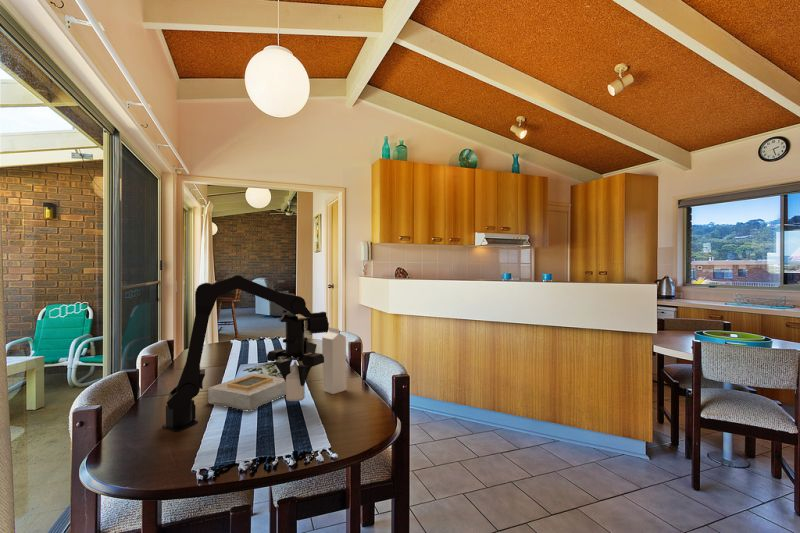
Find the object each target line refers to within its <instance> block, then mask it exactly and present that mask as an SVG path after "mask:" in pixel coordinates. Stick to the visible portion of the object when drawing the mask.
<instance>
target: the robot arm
mask: <svg viewBox="0 0 800 533" xmlns="http://www.w3.org/2000/svg"><path fill="white" fill-rule="evenodd" d="M235 290H240V291H243V292H246V293H248V294H251V295H252V296H255V297H258V298H261V299H264V300H266V301H269V302H271V303H274V304H275V305H277V306H278V307H280V308H282V309H283V310H284V311H286V312H288V313H290V314H292V315H287V314H286V313H283V314H282V316H281V317H280V318H278V321H279V322H281V323H285V338H283V339H282V343H285V349H284V348H283V349H282V348H277V349H273V350H269V351H268V353H267V354H266V361H267V362H273V365H275V366H276V368H277V370H278V371H279V373H280V374H281V376H282V377H283V378H284V380H285V382H286V376H287V375H288V374H290V373H291V366H292V365H291V364H292V362H293V361H296V362H297V361H298V362H301V364H299V366H298V372H299V378H300V383H301V386H304V385H305V386H306V381H307V378H308V376H309V373H310V372H311V369H312V367H315V366H318V365H321V364H322V363H324V356H323V354H322V353H317V344H316V343H314V342H309V341H308V337H307V336H305V331H306V332H307V333H308V334H310V335H311V334H323V333H325V334H327V333H328V332H329V327H330V322H329V319H328V317H327V312H326V311H319V312H311V311H310V310H309V309H308V307H307V305H306V301H305V299H304V298H303V297H302V296H300V295H299V296H298V295H296V294H291V293H287V292H286V293H285V292H281V291H277V290H274V289H272V288H270V287H267V286H265V285H262V284H260V283H257V282H255V281H252V280H250V279H248V278H245V277H243V276H242V275H238V274H233V275H231V277H228V278H225V279H222V280H219V281H216V282H214V283H211V282H204V283H200V284H199V285H198V286H197V287H196V289H195V293H194V313H195V314H194V319H193V320H194V321H193V325H192V330H191V335H190V340H189V344H188V345H189V346H188V351H187V356H186V359H185V360H186V361H185V363H184V365H183V367H182V370H181V373H180V375H179V377H178V381H177V384H176V386H175V387H174V388H173V389H172V390H171V391H170V392H169V393H168V397H167V400H166V405H165V424H162V425H161V428H162V429H166V430H170V431H174V432H179V431H182V430H184V429H186V428H189V427H191V426H195V425H196V424H198V423H199V420H196V419H197V416H196V414H197V413H196V412H197V410H196V404H195V400H194V398H195V397H197V396H198V394H199V392H200V389H201V390H202V389H204V388H203V387H204V386H203V384H204V382H203V381H204V379H205V376H206V369H205V368H204V369H203V368H201V360H202V356H203V350H204V345H205V339H206V334H207V330H208V325H209V318H210V316H211V313H212V311H213V309H214V306H215V303H216V302H217V299H218V297H220V296H222V295H225V294H227V293H230V292H232V291H235ZM298 316H302V317H298Z"/></svg>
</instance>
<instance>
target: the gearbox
mask: <svg viewBox="0 0 800 533" xmlns="http://www.w3.org/2000/svg"><path fill="white" fill-rule="evenodd" d="M207 391H208V392H207V395H208V398H207V399H208V404H209V405H215V406H220V407H223V406H226V407H225V408H228V407H232V408H231V409H233V408H237V409H236V410H238V409H242V410H248V411H251V410H253V409H255V408H257V407H259V406H261V405H263V404H266V403H268V402H270V401H272V400H275V399H277V398H279V397H282V396H284V395H286V382H285V380H284V378H283V376H282V375H279V376H273V375H266V374H257V373H249V374H246V375H243V376H241V377H236V378H234V379H230V380H228V381H226V382H225V381H224V382H221V383H219V384H216V385H213V386H209V387H208V390H207ZM284 397H285V396H284ZM282 398H283V397H282ZM277 400H278V399H277ZM275 401H276V400H275ZM266 405H267V404H266ZM257 409H258V408H257ZM242 410H241V411H242ZM255 410H256V409H255ZM253 411H254V410H253ZM251 412H252V411H251Z"/></svg>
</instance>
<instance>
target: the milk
mask: <svg viewBox="0 0 800 533" xmlns="http://www.w3.org/2000/svg"><path fill="white" fill-rule="evenodd" d="M321 339H322V340H321V343H322V344H321V345H322V346H321V348H322V349H321V350H322V352H321V354H323V356H324V363H321V364H322V391H323V392H326V393H327V394H331V395H335V394H338V393H341V392H344V391H347V337H346V336H344V335H343V334H341V333H340V329H339V328H335V327H330V326H329V329H328V332H326V333H325V335H323V336H322V338H321Z"/></svg>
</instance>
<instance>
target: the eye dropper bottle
mask: <svg viewBox="0 0 800 533" xmlns="http://www.w3.org/2000/svg"><path fill="white" fill-rule="evenodd" d="M299 365H300V364H299ZM299 365H298V363H297V360H293V364H292V365H290V374H288V375H287V376H286V396H285V400H286V401H288V402H299V401H303V400H305V397H306V396H305V393H306V392H305V391H306V389H305V386H306V384H305V385H304V386H301V383H300V378H299V372H298V366H299Z"/></svg>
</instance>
